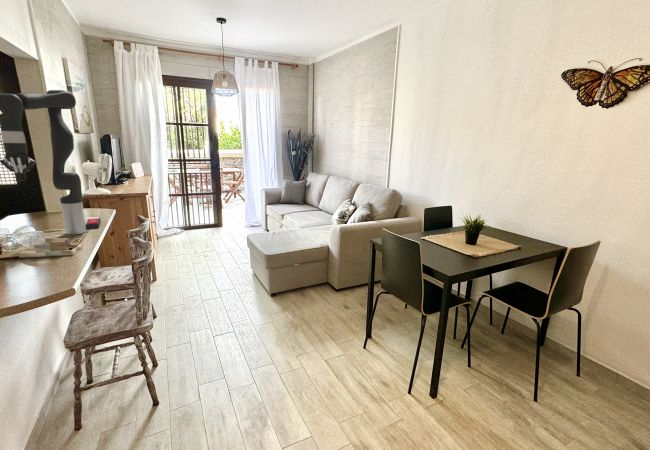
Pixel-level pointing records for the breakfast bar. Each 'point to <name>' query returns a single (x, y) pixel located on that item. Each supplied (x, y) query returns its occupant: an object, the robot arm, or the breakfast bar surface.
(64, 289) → the breakfast bar surface
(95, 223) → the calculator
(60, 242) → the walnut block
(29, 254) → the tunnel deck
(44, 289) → the breakfast bar surface
